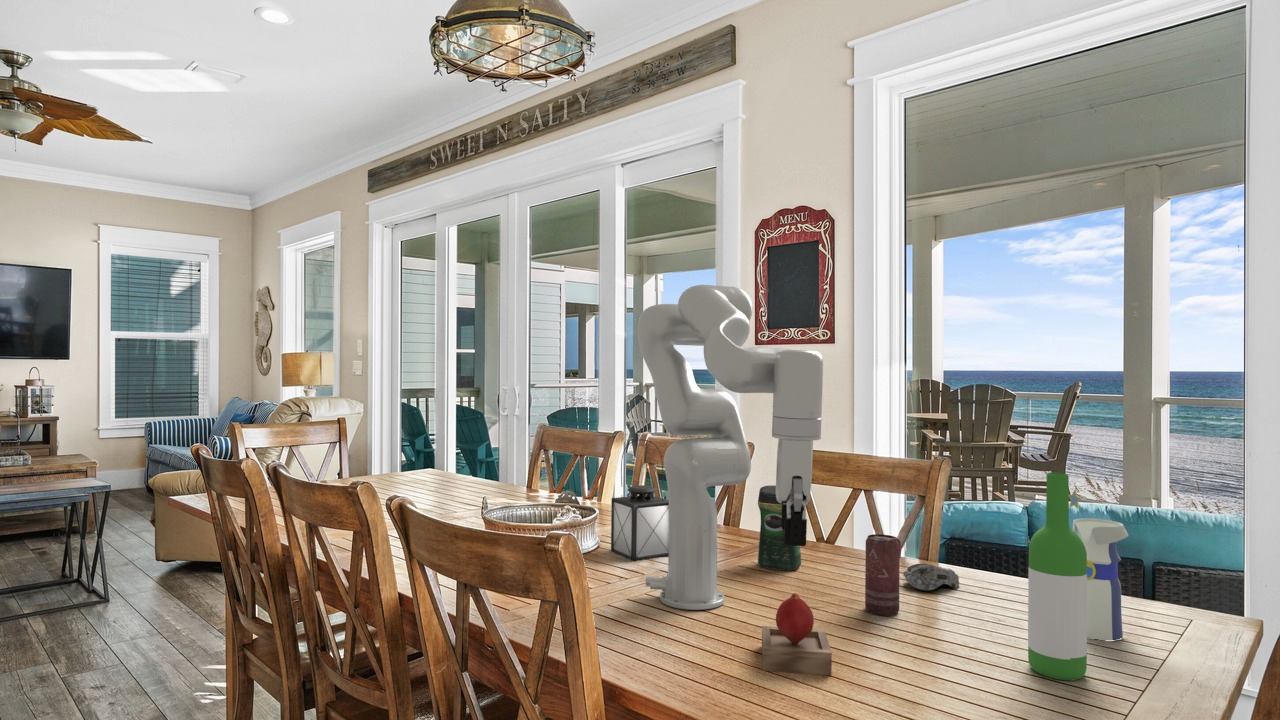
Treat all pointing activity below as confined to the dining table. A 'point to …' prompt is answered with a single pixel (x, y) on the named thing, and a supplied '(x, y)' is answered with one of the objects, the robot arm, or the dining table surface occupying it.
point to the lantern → (640, 523)
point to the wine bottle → (1057, 590)
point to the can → (882, 574)
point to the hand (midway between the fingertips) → (793, 537)
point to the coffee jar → (774, 534)
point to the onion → (794, 619)
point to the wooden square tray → (796, 652)
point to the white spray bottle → (1101, 574)
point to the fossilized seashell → (930, 577)
